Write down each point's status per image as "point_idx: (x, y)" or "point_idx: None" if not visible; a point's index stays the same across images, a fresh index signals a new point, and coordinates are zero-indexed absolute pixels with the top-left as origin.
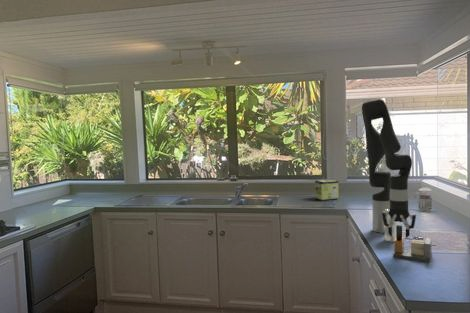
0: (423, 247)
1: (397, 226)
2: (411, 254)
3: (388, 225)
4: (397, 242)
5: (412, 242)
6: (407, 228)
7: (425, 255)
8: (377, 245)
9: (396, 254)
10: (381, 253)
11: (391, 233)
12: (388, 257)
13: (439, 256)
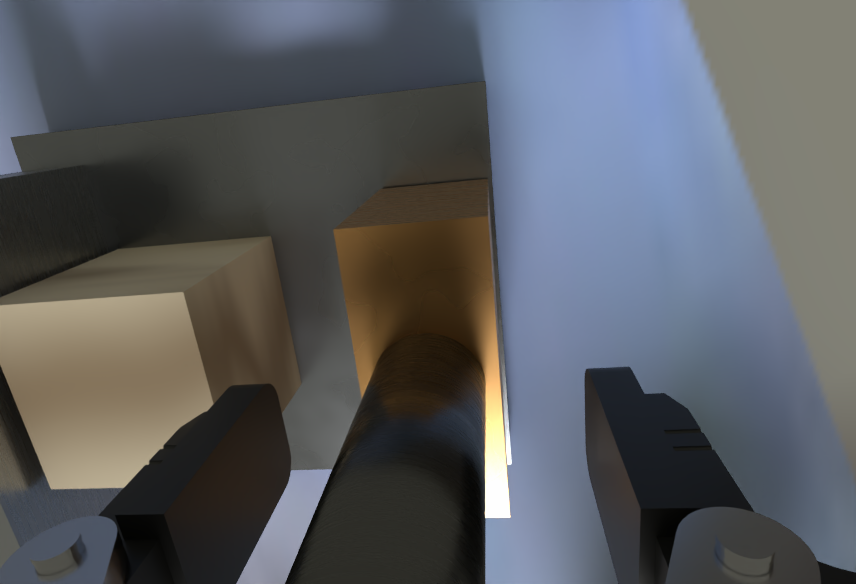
0: (38, 283)
1: (413, 580)
2: (258, 208)
3: (814, 576)
4: (425, 216)
5: (165, 306)
6: (67, 530)
7: (48, 171)
8: (774, 486)
9: (436, 87)
10: (676, 177)
11: (599, 393)
12: (548, 41)
13: None
